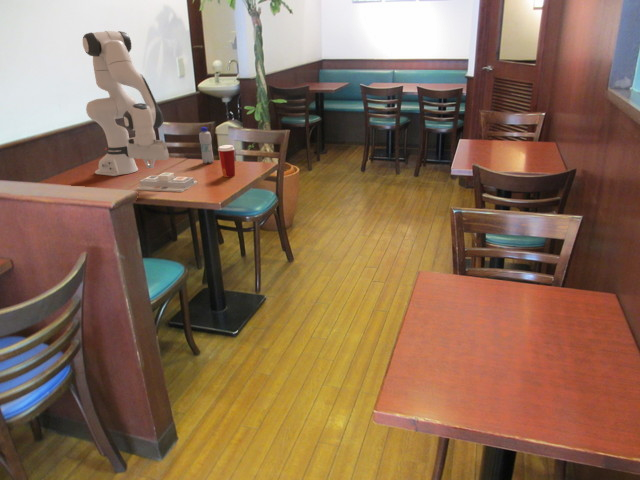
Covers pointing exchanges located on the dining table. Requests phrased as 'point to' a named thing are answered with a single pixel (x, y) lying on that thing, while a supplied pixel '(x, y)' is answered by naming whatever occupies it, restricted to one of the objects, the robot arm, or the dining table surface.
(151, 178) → the charcoal key
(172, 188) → the keypad base
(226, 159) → the coffee cup
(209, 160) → the bottle
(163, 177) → the sage key
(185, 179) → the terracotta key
